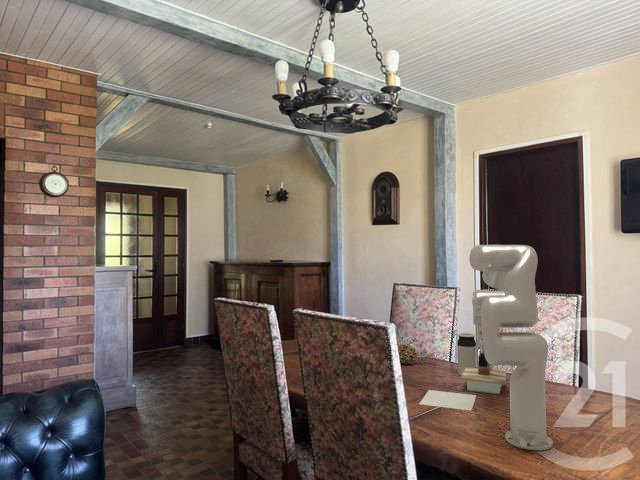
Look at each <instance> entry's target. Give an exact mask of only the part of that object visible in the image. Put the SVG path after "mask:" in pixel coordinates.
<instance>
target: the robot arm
mask: <svg viewBox="0 0 640 480" xmlns="http://www.w3.org/2000/svg"><path fill="white" fill-rule="evenodd" d="M469 264H470V267H471V268H472V269H473V270H475V271H478V272H482V276H481V277H482V280H483V282H484V283H485V284H486V285H487V286H489V287H491V288H492V289H496V290H489V289H475V290H474V291H473V292H472V297H471V298H472V299H471V302H472V316H473V317H472V321H473V322H472V323H473V325H475V326H476V330H475V331H476V350H478V356H477V357H478V358H477V359H478V361H479V366H481V367H487V362H488V363H490V365H491V366H512V367H513V366H514V367H515V366H516V367H515V369H514V370H513V371H512V372H511V375H510V377H509V415H510V416H509V417H510V422H509V423H510V424H509V425H510V430H508V431H506V432H505V435H504V436H505V437H504V438H505V440H506V442H507V443H508V444H510V445H512V446H514V447H516V448H519V449H523V450H528V451H546V450H547V451H548V450H549V449H551V448H552V447H553V445H554V443H553V442H554V441H553V439H552V438H551V437H550V436H549V435H547V406H546V403H547V402H546V399H547V398H546V370H547V369H546V368H547V361H548V355H549V345H548V342H547V339H545V337H544V336H543V335H540V334H539V333H535V332H528V331H527V332H526V331H521V332H520V331H512V332H510V331H509V332H502V331H501V332H500V330H501V328H502V329H503V328H505V329H506V328H516V329H517V328H532V327H534V326H536V325H537V323H538V320H539V311H538V301H537V293H536V292H537V291H536V283H535V281H536V280H535V279H536V273H537V268H538V254H537V252H536V250H535V249H534V247H532V246H530V245H525V244H477V245H474V246H473V247H472V249H471V250H470V253H469Z"/></svg>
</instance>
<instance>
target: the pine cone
mask: <svg viewBox="0 0 640 480" xmlns="http://www.w3.org/2000/svg"><path fill="white" fill-rule="evenodd" d="M397 345H398V349H399V354H400V360H401V363H400V364H404V365H409V364H410V365H413V364H414V363H415V361H417V359H424V358H431V357H434V356H435V352H431V353H427V354H423V355H418V354H417V351H416V349H415V348H413V346H412V345H410V346H409V345H407V344H405V343H400V344H399V343H398V344H397Z"/></svg>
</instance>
